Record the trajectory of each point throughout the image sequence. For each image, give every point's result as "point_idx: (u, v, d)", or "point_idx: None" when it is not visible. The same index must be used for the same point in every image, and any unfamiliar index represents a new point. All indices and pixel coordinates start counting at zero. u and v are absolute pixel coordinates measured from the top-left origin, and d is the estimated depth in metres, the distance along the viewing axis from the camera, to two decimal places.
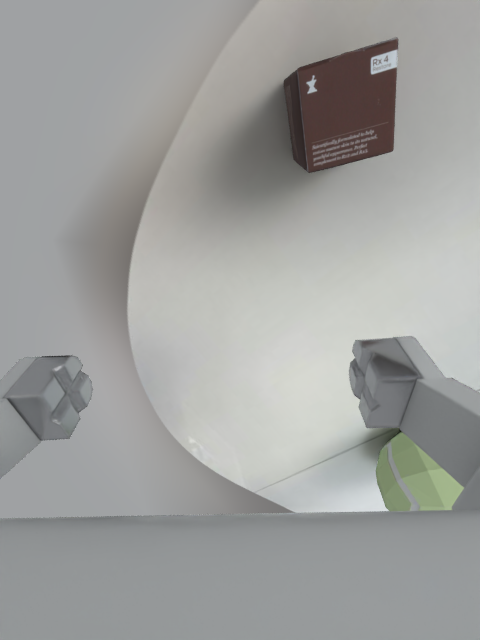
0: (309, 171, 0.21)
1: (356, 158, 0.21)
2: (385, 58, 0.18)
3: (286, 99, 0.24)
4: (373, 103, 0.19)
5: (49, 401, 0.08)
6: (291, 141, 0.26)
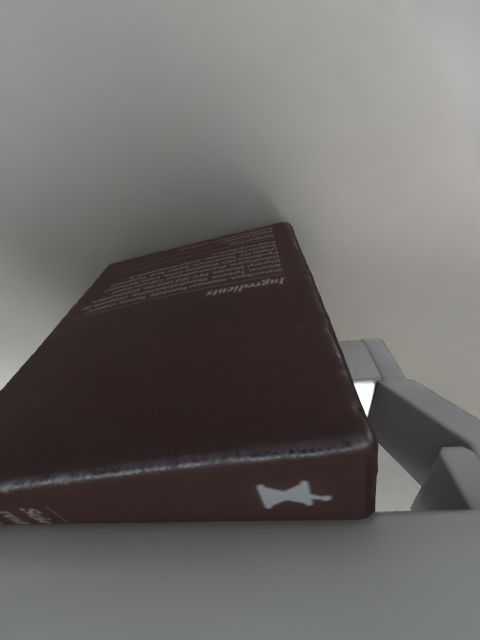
0: None
1: None
2: None
3: (246, 238, 0.08)
4: None
5: None
6: (149, 256, 0.09)
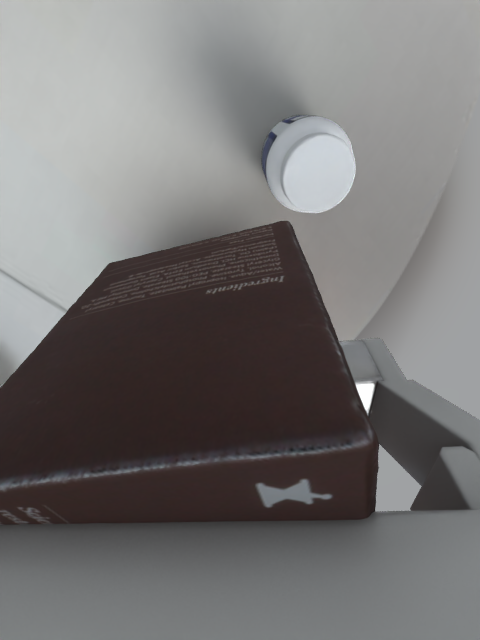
0: None
1: None
2: None
3: (246, 237, 0.08)
4: None
5: None
6: (149, 255, 0.09)
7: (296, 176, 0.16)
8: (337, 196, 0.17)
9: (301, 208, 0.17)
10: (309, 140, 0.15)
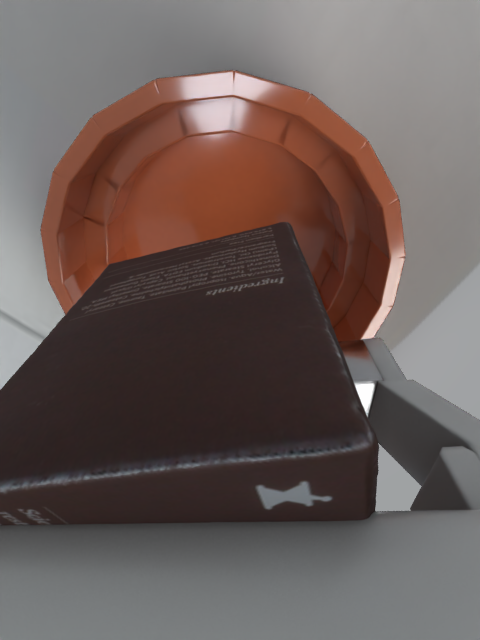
0: None
1: None
2: None
3: (246, 238, 0.08)
4: None
5: None
6: (149, 255, 0.09)
7: None
8: None
9: None
10: None
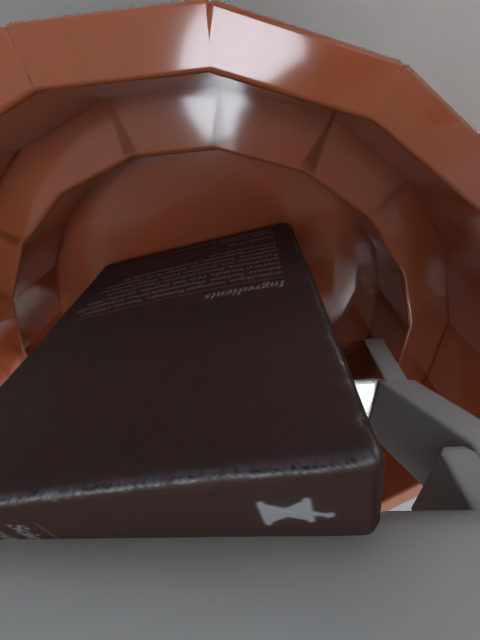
0: None
1: None
2: None
3: (245, 240, 0.08)
4: None
5: None
6: (147, 257, 0.09)
7: None
8: None
9: None
10: None
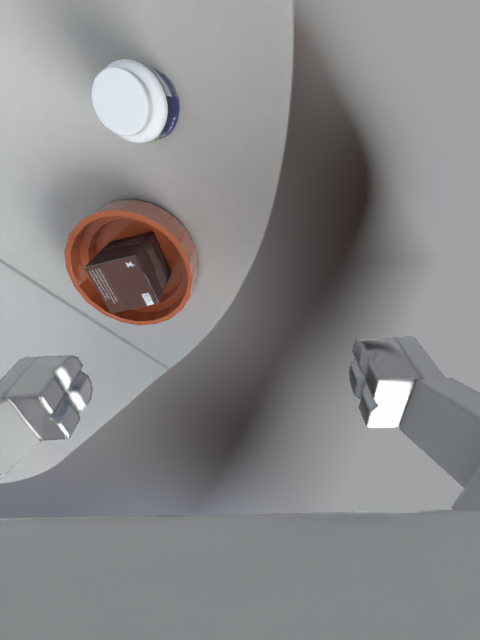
0: (84, 268, 0.31)
1: (100, 294, 0.32)
2: (149, 299, 0.33)
3: (141, 235, 0.35)
4: (129, 298, 0.33)
5: (49, 401, 0.08)
6: None
7: (102, 102, 0.21)
8: (139, 120, 0.22)
9: (114, 130, 0.22)
10: (103, 71, 0.20)
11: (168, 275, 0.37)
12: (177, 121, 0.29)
